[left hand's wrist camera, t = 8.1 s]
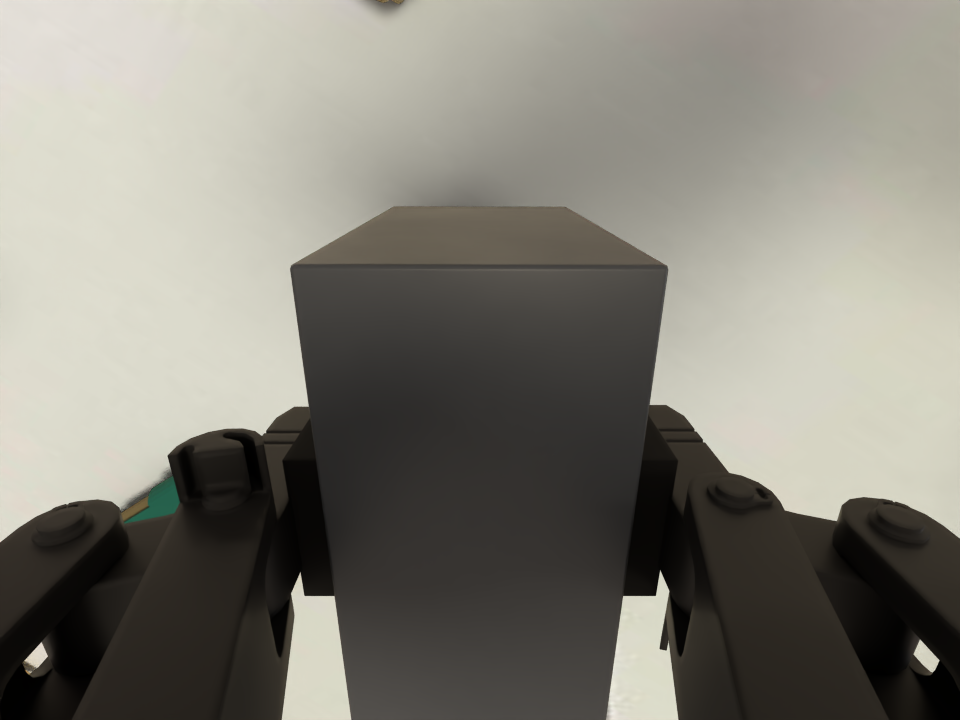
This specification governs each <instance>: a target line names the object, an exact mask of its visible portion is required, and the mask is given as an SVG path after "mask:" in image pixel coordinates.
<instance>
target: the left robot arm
mask: <svg viewBox="0 0 960 720" xmlns="http://www.w3.org/2000/svg"><path fill="white" fill-rule="evenodd" d="M168 459H169V463H170V467H171V471H172V474H173V478H174V482H175V486H176V490H177V494H178V497H179V501H180V503H179V505H178V507H177V509H176V511H175V513H173V514H169V515H165V516H161V517H155V518H150V519H145V520H140V521H135V522H130V523H125V524H124V521H123V518H122V515H121V512H120V509H119V507H118V506H116V505H115V504H114V503H113V502H110V501H104V500H88V501H77V502H72V503H69V504H68V505H66V504H64V505H61V506H58V507H55V508H53V509H52V510H50V511H48V512H46V513H43V514H41V515H39V516H37V517H35V518H33V519H32V520H30V521H29V522H27V523H26V524H24V525H22V526H21V527H19V528H18V529H17V530H15V531H14V532H13V533H12V534H10V535H9V536H8V537H7V538H5V539H4V540H3V541H1V542H0V720H282V712H283V704H284V696H285V688H286V680H287V672H288V664H289V656H290V648H291V640H292V631H293V623H294V609H293V603H292V597H291V592H292V590H293V588H294V585H295V583H296V581H297V578H298V576H299V574H300V571H301V577H302V583H303V589H304V595H305V596H335V595H334V587H333V580H332V573H331V565H330V558H329V551H328V543H327V536H326V529H325V521H324V514H323V506H322V499H321V492H320V484H319V477H318V470H317V462H316V455H315V448H314V440H313V433H312V426H311V418H310V411H309V407H293V408H292V409H290V410H288V411H287V412H285V413H284V414H282V415H280V416H279V417H277V418H276V419H275V420H274V422H273V423H272V424H271V425H270V427H269V428H268V429H267V431H266V433H264V434H263V436H261V435H260V434H258V433H257V432H256V431H251V430H247V429H223V430H218V431H212V432H208V433H205V434H202V435H199V436H196V437H193V438H191V439H189V440H187V441H185V442H184V443H182V444H180V445H178V446H177V447H176V448H175V449H174V450H173V451H172V452H171V453H170V454H169V455H168ZM660 570H661V573H662V575H663V577H664V579H665V582H666V584H667V586H668V589H669V597H668V603H667V608H666V614H665V619H664V625H663V631H662V636H661V643H660V649H662V650H667V646H668V640H669V646H670V654H671V663H672V671H673V679H674V687H675V695H676V703H677V711H678V719H679V720H960V538H958V537H957V536H956V535H954V534H953V533H952V532H951V531H949V530H948V529H947V528H945V527H944V526H943V525H941V524H940V523H938V522H937V521H935V520H933V519H932V518H930V517H929V516H927V515H926V514H923V513H921V512H919V511H917V510H914V509H912V508H910V507H909V506H907V505H905V504H901V503H898V502H893V501H891V500H886V499H876V498H867V497H862V498H855V499H849V500H848V501H847V502H846V503H844V504H843V505H842V507H841V510H840V513H839V516H838V520H837V521H832V520H827V519H822V518H817V517H812V516H807V515H801V514H796V513H792V512H789V511H785V510H784V508H783V506H782V504H781V502H780V501H779V500H778V498H777V497H776V496H775V495H774V494H773V492H772V491H770V490H769V489H767V488H766V487H764V486H763V485H761V484H760V483H758V482H756V481H753V480H751V479H749V478H746V477H744V476H741V475H736V474H731V473H729V472H728V471H727V470H726V468H725V467H724V466H723V465H722V463H721V462H720V461H719V460H718V458H717V457H716V456H715V454H714V453H713V452H712V451H711V449H710V448H709V447H708V446H707V444H706V443H703V439H702V438H701V437H700V435H699V434H698V433H697V432H695V431H694V428H693V427H692V425H691V424H690V423H689V422H688V420H687V419H686V418H685V417H684V416H683V415H682V414H680V413H678V412H677V411H675V410H673V409H672V408H670V407H668V406H667V405H649V412H648V419H647V426H646V433H645V441H644V448H643V455H642V462H641V470H640V477H639V484H638V491H637V498H636V506H635V513H634V520H633V527H632V534H631V542H630V549H629V556H628V563H627V571H626V578H625V585H624V592H623V596H656V592H657V586H658V580H659V573H660ZM919 640H921V641H922V642H923V643H924V644H925V645H926V646H927V647H928V648H929V649H930V650H931V651H932V653H933V654H934V655H935V656H936V657H937V658H938V659H939V660H940V661H939V663H938V665H937V667H936V670H935V671H934V672H933V673H932V672H930V671H929V670H928V669H927V668H926V667H924V666H923V665H922V664H921V663H920V661H919V660H918V659H917V658H916V657H915V656H914V655H913V654H914V652H915V649H916V647H917V645H918V642H919ZM41 642H42V644H43V646H44V648H45V650H46V653H47V655H48V657H47V658H46V659H45V660H44V662H43V663H42V664H41V665H40V666H39V667H38V668H37V669H36V670H34V671H33V672H32V673H31V674H28V673H27V672H26V670H25V668H24V666H23V664H22V663H23V661H24V660H25V659H26V658H27V657H28V656H29V655H30V654H31V653H32V652H33V651H34V649H35V648H36V647H37V646H38V645H39V644H40V643H41Z"/></svg>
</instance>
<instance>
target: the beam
mask: <svg viewBox="0 0 960 720" xmlns="http://www.w3.org/2000/svg"><path fill="white" fill-rule="evenodd" d="M290 271H291V278H292V286H293V293H294V301H295V308H296V315H297V323H298V330H299V337H300V345H301V352H302V359H303V367H304V374H305V381H306V389H307V396H308V403H309V411H310V418H311V426H312V433H313V440H314V448H315V455H316V462H317V470H318V477H319V484H320V492H321V499H322V506H323V514H324V521H325V529H326V536H327V543H328V551H329V558H330V565H331V573H332V580H333V587H334V595H335V602H336V609H337V617H338V624H339V631H340V639H341V646H342V654H343V661H344V668H345V676H346V683H347V690H348V698H349V705H350V712H351V720H606V715H607V708H608V701H609V693H610V686H611V679H612V672H613V664H614V657H615V650H616V643H617V636H618V628H619V621H620V614H621V607H622V599H623V592H624V585H625V578H626V571H627V563H628V556H629V549H630V542H631V534H632V527H633V520H634V513H635V506H636V498H637V491H638V484H639V477H640V470H641V462H642V455H643V448H644V441H645V433H646V426H647V419H648V412H649V405H650V397H651V390H652V383H653V376H654V368H655V361H656V354H657V347H658V340H659V332H660V325H661V318H662V311H663V303H664V296H665V289H666V282H667V275H668V267H667V266H666V265H665V264H663V263H661V262H659V261H658V260H656V259H654V258H653V257H651V256H649V255H647V254H646V253H644V252H642V251H640V250H639V249H637V248H635V247H634V246H632V245H630V244H628V243H627V242H625V241H623V240H622V239H620V238H618V237H616V236H615V235H613V234H611V233H610V232H608V231H606V230H604V229H603V228H601V227H599V226H597V225H596V224H594V223H592V222H591V221H589V220H587V219H585V218H584V217H582V216H580V215H579V214H577V213H575V212H573V211H572V210H570V209H568V208H566V207H392V208H391V209H389V210H387V211H385V212H384V213H382V214H380V215H378V216H377V217H375V218H373V219H371V220H370V221H368V222H366V223H364V224H363V225H361V226H359V227H357V228H356V229H354V230H352V231H350V232H349V233H347V234H345V235H343V236H342V237H340V238H338V239H336V240H335V241H333V242H331V243H329V244H328V245H326V246H324V247H322V248H321V249H319V250H317V251H315V252H314V253H312V254H310V255H308V256H307V257H305V258H303V259H301V260H300V261H298V262H296V263H294V264H293V265H291V268H290Z"/></svg>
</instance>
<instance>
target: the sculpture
mask: <svg viewBox="0 0 960 720" xmlns="http://www.w3.org/2000/svg"><path fill="white" fill-rule="evenodd" d="M377 1H379V2H382V3H385V2H388V1H389V0H377ZM392 1H393V2H395V3H397V4H399V3H401V2H403V0H392Z"/></svg>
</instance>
